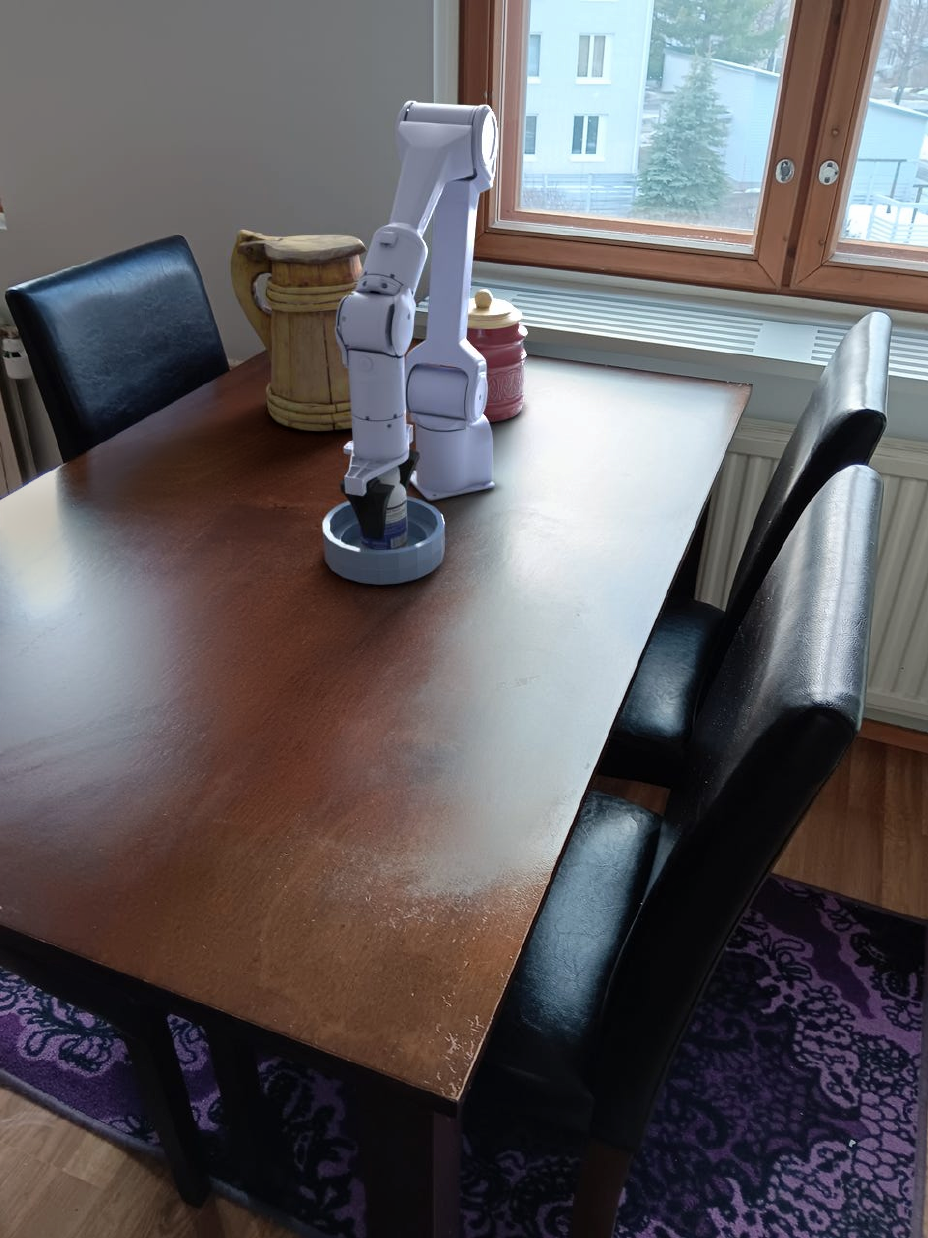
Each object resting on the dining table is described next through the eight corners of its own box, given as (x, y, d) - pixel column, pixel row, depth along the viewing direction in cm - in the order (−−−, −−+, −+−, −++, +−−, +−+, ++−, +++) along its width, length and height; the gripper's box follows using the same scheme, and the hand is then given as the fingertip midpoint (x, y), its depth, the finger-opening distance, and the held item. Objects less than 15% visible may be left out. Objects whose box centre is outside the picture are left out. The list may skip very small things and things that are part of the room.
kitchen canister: (471, 385, 155) (472, 272, 145) (540, 403, 149) (546, 287, 139) (421, 410, 147) (419, 292, 137) (492, 431, 140) (495, 309, 130)
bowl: (415, 519, 119) (414, 485, 116) (464, 572, 109) (464, 537, 106) (309, 542, 114) (306, 508, 111) (349, 600, 104) (347, 564, 101)
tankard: (369, 441, 137) (360, 259, 123) (218, 422, 142) (192, 245, 128) (408, 394, 152) (403, 226, 138) (269, 379, 157) (251, 215, 142)
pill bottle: (360, 536, 112) (356, 459, 107) (406, 534, 113) (404, 458, 107) (360, 560, 108) (355, 481, 102) (408, 558, 108) (406, 480, 103)
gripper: (370, 381, 108) (375, 491, 116) (313, 431, 96) (323, 549, 104) (429, 389, 106) (430, 500, 114) (379, 441, 95) (384, 561, 102)
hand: (383, 524), depth 109 cm, fingers closed on pill bottle, 5 cm apart
